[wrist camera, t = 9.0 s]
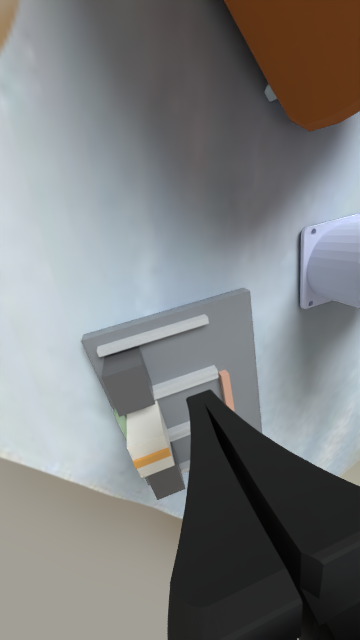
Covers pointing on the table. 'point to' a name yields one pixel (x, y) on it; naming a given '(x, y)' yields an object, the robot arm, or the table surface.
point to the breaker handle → (148, 441)
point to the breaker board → (180, 369)
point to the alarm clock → (305, 55)
